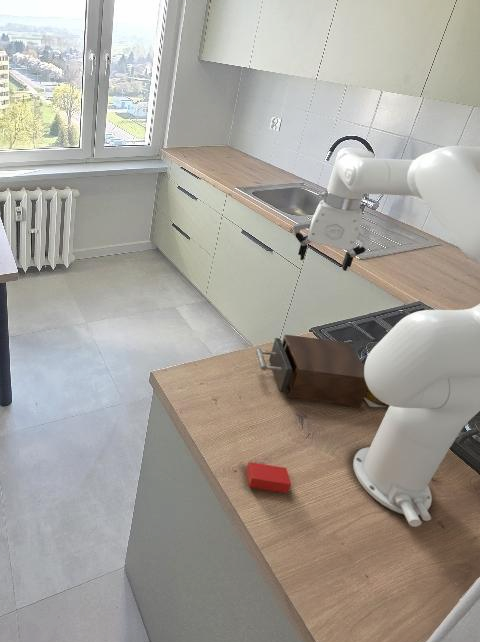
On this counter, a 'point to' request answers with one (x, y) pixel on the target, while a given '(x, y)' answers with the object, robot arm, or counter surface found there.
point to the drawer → (279, 364)
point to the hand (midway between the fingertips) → (322, 262)
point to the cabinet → (326, 371)
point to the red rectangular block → (268, 477)
